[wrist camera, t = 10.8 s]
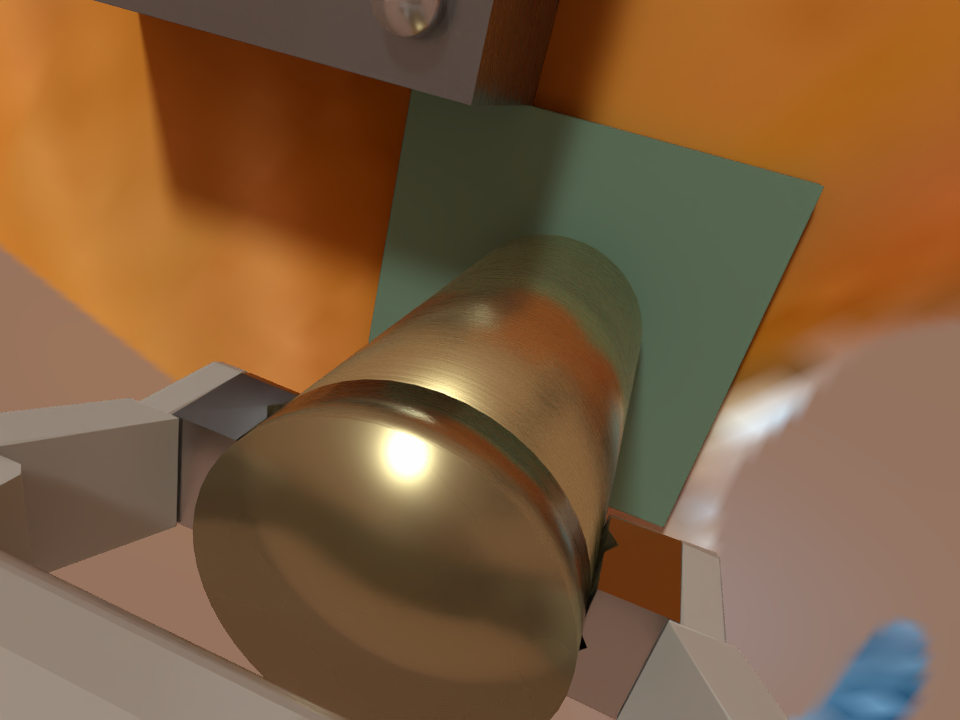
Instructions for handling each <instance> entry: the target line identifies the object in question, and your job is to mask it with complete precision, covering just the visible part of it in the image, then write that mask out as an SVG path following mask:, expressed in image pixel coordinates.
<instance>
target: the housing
mask: <svg viewBox="0 0 960 720" xmlns="http://www.w3.org/2000/svg"><path fill="white" fill-rule="evenodd" d="M95 1H98V2H102V3H105V4H109V5H113V6H116V7H120V8H123V9H127V10H130V11H134V12H138V13H141V14H145V15H148V16H152V17H156V18H159V19H163V20H166V21H170V22H173V23H177V24H181V25H184V26H188V27H191V28H195V29H199V30H202V31H206V32H209V33H213V34H216V35H220V36H224V37H227V38H231V39H234V40H238V41H242V42H245V43H249V44H252V45H256V46H259V47H263V48H267V49H270V50H274V51H277V52H281V53H285V54H288V55H292V56H295V57H299V58H302V59H306V60H310V61H313V62H317V63H320V64H324V65H328V66H331V67H335V68H338V69H342V70H345V71H349V72H353V73H356V74H360V75H363V76H367V77H371V78H374V79H378V80H381V81H385V82H388V83H392V84H396V85H399V86H403V87H406V88H410V89H414V90H417V91H421V92H424V93H428V94H431V95H435V96H439V97H442V98H446V99H449V100H453V101H457V102H460V103H464V104H467V105H471V106H533V102H534V98H535V94H536V90H537V86H538V82H539V78H540V74H541V70H542V66H543V62H544V58H545V54H546V50H547V46H548V43H549V39H550V35H551V31H552V27H553V23H554V19H555V15H556V11H557V7H558V3H559V0H95Z"/></svg>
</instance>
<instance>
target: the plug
mask: <svg viewBox="0 0 960 720" xmlns="http://www.w3.org/2000/svg"><path fill="white" fill-rule="evenodd" d="M641 340H642V318H641V311H640V307H639V304H638V300H637V297H636V295H635V293H634V291H633V288H632V286H631V285H630V283H629V282H628V280H627V278H626V277H625V275H624V274H623V273H622V272H621V270H620V269H619V268H618V267H617V266H616V265H615V264H614V263H613V262H612V261H611V260H610V259H609V258H608V257H607V256H605V255H604V254H602V253H601V252H600V251H598V250H597V249H595V248H593V247H591V246H589V245H587V244H586V243H583V242H580V241H578V240H575V239H572V238H568V237H564V236H558V235H548V234H546V235H531V236H525V237H521V238H518V239H515V240H511V241H509V242H507V243H505V244H503V245H501V246H499V247H498V248H496V249H494V250H493V251H491V252H490V253H489V254H487V255H486V256H485V257H483V258H482V259H481V260H479V261H478V262H477V263H475V264H474V265H473V266H471V267H470V268H469V269H467V270H466V271H464V272H463V273H462V274H460V275H459V276H458V277H456V278H455V279H454V280H452V281H451V282H450V283H448V284H447V285H446V286H444V287H443V288H442V289H440V290H439V291H438V292H436V293H435V294H434V295H432V296H431V297H430V298H428V299H427V300H426V301H424V302H423V303H422V304H420V305H419V306H418V307H416V308H415V309H414V310H412V311H411V312H410V313H408V314H407V315H406V316H404V317H403V318H402V319H400V320H399V321H398V322H396V323H395V324H394V325H392V326H391V327H389V328H388V329H387V330H385V331H384V332H383V333H381V334H380V335H379V336H377V337H376V338H375V339H373V340H372V341H371V342H369V343H368V344H367V345H365V346H364V347H363V348H361V349H360V350H359V351H357V352H356V353H355V354H353V355H352V356H351V357H349V358H348V359H347V360H345V361H344V362H343V363H341V364H340V365H339V366H337V367H336V368H335V369H333V370H332V371H331V372H329V373H328V374H327V375H325V376H324V377H323V378H321V379H320V380H318V381H317V382H316V383H314V384H313V385H312V386H310V387H309V388H308V389H306V390H305V391H304V392H302V393H301V394H300V395H298V396H297V397H296V398H294V399H293V400H292V401H290V402H289V403H288V404H286V405H285V406H284V407H282V408H281V409H280V410H278V411H277V412H276V413H274V414H273V415H272V416H270V417H269V418H268V419H266V420H265V421H264V422H262V423H261V424H260V425H258V426H257V427H256V428H254V429H253V430H252V431H250V432H249V433H248V434H246V435H245V436H243V437H242V438H241V439H239V440H238V441H237V442H235V443H234V444H233V445H232V446H231V447H230V448H229V449H228V450H227V451H225V452H224V453H223V454H222V455H221V456H220V457H219V458H218V460H217V461H216V462H215V464H214V465H213V466H212V468H211V469H210V471H209V472H208V474H207V476H206V478H205V480H204V482H203V484H202V486H201V488H200V491H199V495H198V498H197V502H196V505H195V511H194V520H193V542H194V543H193V544H194V552H195V557H196V562H197V568H198V571H199V574H200V577H201V581H202V584H203V587H204V589H205V592H206V594H207V596H208V599H209V601H210V603H211V606H212V608H213V609H214V611H215V613H216V615H217V617H218V619H219V620H220V622H221V624H222V626H223V627H224V628H225V630H226V632H227V633H228V634H229V636H230V637H231V639H232V640H233V642H234V643H235V645H236V646H237V647H238V648H239V650H240V651H241V652H242V653H243V655H244V656H245V657H246V658H247V659H248V661H249V662H250V663H251V664H252V665H253V666H254V667H255V668H256V669H257V670H258V671H259V672H260V673H261V674H262V675H263V676H264V678H266V679H268V680H270V681H272V682H274V683H276V684H278V685H280V686H282V687H284V688H286V689H289V690H291V691H293V692H295V693H297V694H299V695H301V696H303V697H305V698H307V699H309V700H311V701H313V702H315V703H317V704H319V705H321V706H324V707H326V708H328V709H330V710H332V711H334V712H336V713H338V714H340V715H342V716H344V717H346V718H348V719H350V720H550V719H551V718H552V717H553V715H554V714H555V713H556V712H557V711H558V709H559V708H560V706H561V704H562V702H563V700H564V699H565V697H566V695H567V693H568V691H569V688H570V685H571V682H572V679H573V676H574V673H575V668H576V663H577V658H578V653H579V648H580V643H581V638H582V633H583V628H584V622H585V615H586V610H587V606H588V601H589V596H590V591H591V586H592V581H593V577H594V574H595V569H596V563H597V557H598V551H599V546H600V542H601V537H602V532H603V527H604V524H605V520H606V515H607V510H608V505H609V500H610V495H611V490H612V485H613V480H614V475H615V470H616V465H617V460H618V455H619V450H620V445H621V441H622V436H623V431H624V426H625V421H626V416H627V411H628V406H629V401H630V396H631V391H632V386H633V381H634V376H635V371H636V366H637V362H638V357H639V352H640V347H641Z"/></svg>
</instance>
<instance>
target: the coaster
mask: <svg viewBox="0 0 960 720" xmlns="http://www.w3.org/2000/svg"><path fill="white" fill-rule="evenodd" d="M823 188H824V187H823V186H821V185H820V184H817V183H814V182H810V181H806V180H803V179H799V178H795V177H792V176H788V175H784V174H781V173H777V172H773V171H770V170H766V169H762V168H759V167H755V166H751V165H748V164H744V163H741V162H737V161H733V160H730V159H726V158H722V157H719V156H715V155H711V154H708V153H704V152H700V151H697V150H693V149H689V148H686V147H682V146H678V145H675V144H671V143H668V142H664V141H660V140H657V139H653V138H649V137H646V136H642V135H638V134H635V133H631V132H627V131H624V130H620V129H616V128H613V127H609V126H605V125H602V124H598V123H595V122H591V121H587V120H584V119H580V118H576V117H573V116H569V115H565V114H562V113H558V112H554V111H551V110H547V109H543V108H540V107H536V106H471V105H467V104H464V103H460V102H457V101H453V100H449V99H446V98H442V97H439V96H435V95H431V94H428V93H424V92H421V91H417V90H414V89H412V90H411V96H410V102H409V108H408V114H407V120H406V126H405V131H404V137H403V143H402V149H401V155H400V161H399V167H398V172H397V178H396V184H395V190H394V196H393V202H392V208H391V213H390V219H389V225H388V231H387V237H386V243H385V249H384V255H383V260H382V266H381V272H380V278H379V284H378V290H377V296H376V301H375V307H374V313H373V319H372V325H371V331H370V337H369V342H371V341H372V340H373V339H375V338H376V337H377V336H379V335H380V334H381V333H383V332H384V331H385V330H387V329H388V328H389V327H391V326H392V325H394V324H395V323H396V322H398V321H399V320H400V319H402V318H403V317H404V316H406V315H407V314H408V313H410V312H411V311H412V310H414V309H415V308H416V307H418V306H419V305H420V304H422V303H423V302H424V301H426V300H427V299H428V298H430V297H431V296H432V295H434V294H435V293H436V292H438V291H439V290H440V289H442V288H443V287H444V286H446V285H447V284H448V283H450V282H451V281H452V280H454V279H455V278H456V277H458V276H459V275H460V274H462V273H463V272H464V271H466V270H467V269H469V268H470V267H471V266H473V265H474V264H475V263H477V262H478V261H479V260H481V259H482V258H483V257H485V256H486V255H487V254H489V253H490V252H491V251H493V250H494V249H496V248H498V247H499V246H501V245H503V244H505V243H507V242H509V241H511V240H515V239H518V238H521V237H525V236H531V235H546V234H548V235H558V236H564V237H568V238H572V239H575V240H578V241H580V242H583V243H586V244H587V245H589V246H591V247H593V248H595V249H597V250H598V251H600V252H601V253H602V254H604V255H605V256H607V257H608V258H609V259H610V260H611V261H612V262H613V263H614V264H615V265H616V266H617V267H618V268H619V269H620V270H621V272H622V273H623V274H624V275H625V277H626V278H627V280H628V282H629V283H630V285H631V286H632V288H633V291H634V293H635V295H636V297H637V300H638V304H639V307H640V311H641V318H642V340H641V347H640V352H639V357H638V362H637V366H636V371H635V376H634V381H633V386H632V391H631V396H630V401H629V406H628V411H627V416H626V421H625V426H624V431H623V436H622V441H621V445H620V450H619V455H618V460H617V465H616V470H615V475H614V480H613V485H612V490H611V495H610V500H609V505H608V506H609V507H612V508H614V509H617V510H619V511H622V512H625V513H627V514H630V515H632V516H635V517H638V518H640V519H643V520H645V521H648V522H651V523H653V524H656V525H658V526H661V527H664V525H665V523H666V521H667V519H668V517H669V515H670V513H671V510H672V508H673V506H674V504H675V502H676V500H677V498H678V496H679V493H680V491H681V489H682V487H683V485H684V483H685V481H686V479H687V476H688V474H689V472H690V470H691V468H692V466H693V464H694V462H695V460H696V457H697V455H698V453H699V451H700V449H701V447H702V445H703V443H704V440H705V438H706V436H707V434H708V432H709V430H710V428H711V426H712V423H713V421H714V419H715V417H716V415H717V413H718V411H719V409H720V406H721V404H722V402H723V400H724V398H725V396H726V394H727V392H728V389H729V387H730V385H731V383H732V381H733V379H734V377H735V375H736V373H737V370H738V368H739V366H740V364H741V362H742V360H743V358H744V356H745V353H746V351H747V349H748V347H749V345H750V343H751V341H752V339H753V336H754V334H755V332H756V330H757V328H758V326H759V324H760V322H761V319H762V317H763V315H764V313H765V311H766V309H767V307H768V305H769V302H770V300H771V298H772V296H773V294H774V292H775V290H776V288H777V286H778V283H779V281H780V279H781V277H782V275H783V273H784V271H785V269H786V266H787V264H788V262H789V260H790V258H791V256H792V254H793V252H794V249H795V247H796V245H797V243H798V241H799V239H800V237H801V235H802V232H803V230H804V228H805V226H806V224H807V222H808V220H809V218H810V215H811V213H812V211H813V209H814V207H815V205H816V203H817V201H818V199H819V196H820V194H821V192H822V190H823Z"/></svg>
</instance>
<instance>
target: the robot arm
mask: <svg viewBox="0 0 960 720" xmlns="http://www.w3.org/2000/svg"><path fill="white" fill-rule="evenodd" d="M298 395H300V393H298V392H295V391H293V390H291V389H288V388H286V387H283V386H281V385H278V384H276V383H274V382H271V381H269V380H266V379H264V378H261V377H259V376H257V375H254V374H252V373H248V372H246V371H244V370H242V369H239V368H237V367H234V366H231V365H229V364H226V363H224V362H212V363H210V364H208V365H207V366H205V367H203V368H201V369H199V370H197V371H195V372H193V373H192V374H190V375H188V376H186V377H184V378H182V379H180V380H178V381H177V382H175V383H173V384H171V385H169V386H167V387H165V388H163V389H162V390H160V391H158V392H156V393H154V394H152V395H150V396H148V397H147V398H145V399H143V400H141V401H136V400H134V399H131V398H126V399H117V400H108V401H99V402H91V403H82V404H74V405H65V406H56V407H47V408H38V409H29V410H21V411H12V412H4V413H0V720H350V719H348V718H346V717H344V716H342V715H340V714H338V713H336V712H334V711H332V710H330V709H328V708H326V707H324V706H321V705H319V704H317V703H315V702H313V701H311V700H309V699H307V698H305V697H303V696H301V695H299V694H297V693H295V692H293V691H291V690H289V689H286V688H284V687H282V686H280V685H278V684H276V683H274V682H272V681H270V680H268V679H266V678H264V677H262V676H260V675H257V674H256V673H253V672H251V671H249V670H247V669H245V668H243V667H241V666H239V665H237V664H235V663H233V662H231V661H229V660H227V659H225V658H223V657H221V656H218V655H216V654H214V653H212V652H210V651H208V650H206V649H204V648H202V647H200V646H198V645H195V644H194V643H192V642H190V641H187V640H186V639H184V638H181V637H179V636H177V635H175V634H173V633H171V632H169V631H167V630H165V629H163V628H161V627H159V626H157V625H155V624H153V623H150V622H148V621H146V620H144V619H142V618H140V617H138V616H136V615H134V614H132V613H130V612H128V611H126V610H124V609H122V608H120V607H118V606H116V605H114V604H111V603H109V602H107V601H105V600H103V599H101V598H99V597H97V596H95V595H93V594H91V593H89V592H87V591H84V590H83V589H81V588H79V587H76V586H74V585H72V584H70V583H68V582H66V581H64V580H62V579H60V578H58V577H56V576H54V575H52V574H50V573H48V572H51V571H54V570H57V569H59V568H62V567H65V566H68V565H70V564H73V563H76V562H79V561H82V560H84V559H87V558H89V557H92V556H95V555H98V554H100V553H104V552H106V551H109V550H112V549H115V548H117V547H120V546H123V545H126V544H128V543H131V542H134V541H137V540H139V539H142V538H145V537H148V536H151V535H153V534H156V533H159V532H162V531H164V530H167V529H169V528H172V527H175V526H176V525H177V523H178V524H181V525H183V526H186V527H188V528H190V529H193V520H194V511H195V505H196V502H197V498H198V495H199V491H200V488H201V486H202V484H203V482H204V480H205V478H206V476H207V474H208V472H209V471H210V469H211V468H212V466H213V465H214V464H215V462H216V461H217V460H218V458H219V457H220V456H221V455H222V454H223V453H224V452H225V451H227V450H228V449H229V448H230V447H231V446H232V445H233V444H234V443H235V442H237V441H238V440H239V439H241V438H242V437H243V436H245V435H246V434H248V433H249V432H250V431H252V430H253V429H254V428H256V427H257V426H258V425H260V424H261V423H262V422H264V421H265V420H266V419H268V418H269V417H270V416H272V415H273V414H274V413H276V412H277V411H278V410H280V409H281V408H282V407H284V406H285V405H286V404H288V403H289V402H290V401H292V400H293V399H294V398H296V397H297V396H298ZM566 696H568V697H570V698H572V699H574V700H576V701H579V702H581V703H583V704H585V705H587V706H589V707H591V708H593V709H595V710H597V711H599V712H601V713H604V714H606V715H608V716H610V717H612V718H614V719H616V720H789V719H788V718H787V716H786V715H785V714H784V712H783V711H782V710H781V708H780V707H779V705H778V704H777V702H776V701H775V700H774V698H773V697H772V695H771V694H770V693H769V691H768V690H767V688H766V687H765V686H764V684H763V683H762V681H761V680H760V679H759V677H758V676H757V674H756V673H755V672H754V670H753V669H752V668H751V666H750V665H749V663H748V662H747V661H746V659H745V658H744V656H743V655H742V654H741V652H740V651H739V649H738V648H736V647H733V646H731V645H729V644H726V633H725V620H724V606H723V593H722V581H721V567H720V558H719V556H718V555H717V553H716V552H713V551H710V550H707V549H704V548H702V547H699V546H696V545H693V544H690V543H687V542H685V541H682V540H680V541H679V540H677V539H674V538H671V537H669V536H666V535H663V534H660V533H658V532H655V531H652V530H650V529H647V528H644V527H642V526H639V525H636V524H634V523H631V522H628V521H626V520H623V519H620V518H618V517H615V516H612V515H610V514H609V516H608V518H607V520H606V522H605V524H604V527H603V532H602V537H601V542H600V546H599V551H598V557H597V563H596V569H595V574H594V577H593V581H592V586H591V591H590V596H589V601H588V606H587V610H586V615H585V622H584V628H583V633H582V638H581V643H580V648H579V653H578V658H577V663H576V668H575V673H574V676H573V679H572V682H571V685H570V688H569V691H568V693H567V695H566Z"/></svg>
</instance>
